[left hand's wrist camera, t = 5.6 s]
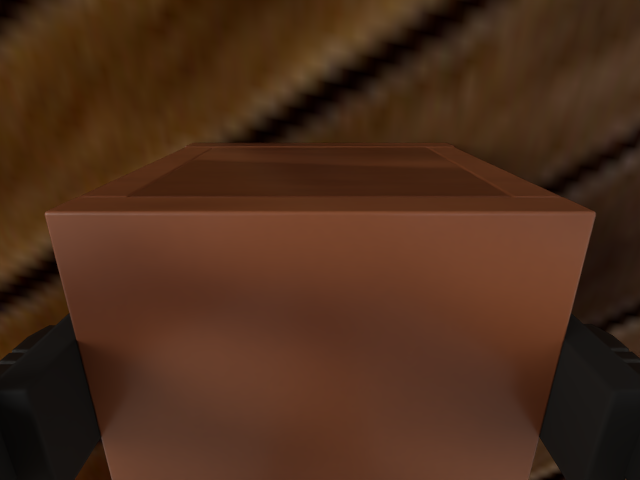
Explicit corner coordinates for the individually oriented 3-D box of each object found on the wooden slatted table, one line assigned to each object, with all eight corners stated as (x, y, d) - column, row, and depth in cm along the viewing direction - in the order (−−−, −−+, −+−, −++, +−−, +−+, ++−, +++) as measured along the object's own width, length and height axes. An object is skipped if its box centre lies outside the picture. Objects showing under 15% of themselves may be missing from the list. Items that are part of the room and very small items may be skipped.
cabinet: (410, 478, 23) (467, 724, 14) (229, 478, 23) (172, 724, 14) (447, 142, 16) (599, 211, 7) (192, 143, 16) (40, 211, 7)
